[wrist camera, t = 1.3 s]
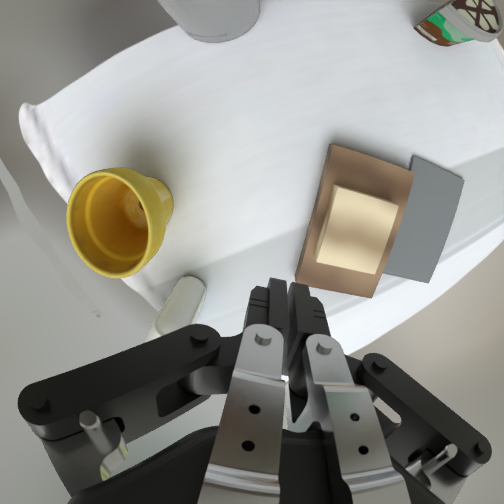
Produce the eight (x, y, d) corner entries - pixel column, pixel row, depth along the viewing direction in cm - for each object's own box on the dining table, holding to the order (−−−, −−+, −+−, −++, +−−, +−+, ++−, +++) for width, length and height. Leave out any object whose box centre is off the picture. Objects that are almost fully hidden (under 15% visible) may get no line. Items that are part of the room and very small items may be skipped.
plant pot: (101, 186, 30) (51, 204, 21) (163, 145, 28) (119, 148, 19) (136, 255, 33) (97, 291, 24) (202, 223, 31) (174, 257, 22)
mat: (412, 155, 26) (414, 155, 25) (462, 179, 26) (464, 180, 25) (376, 270, 32) (378, 272, 31) (427, 281, 32) (428, 283, 31)
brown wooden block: (329, 144, 27) (333, 144, 25) (407, 170, 27) (415, 172, 25) (294, 276, 33) (295, 283, 31) (367, 290, 33) (371, 298, 31)
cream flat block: (333, 184, 26) (337, 187, 24) (391, 201, 26) (398, 205, 25) (313, 254, 29) (316, 262, 28) (369, 266, 29) (374, 274, 28)
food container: (440, 69, 21) (488, 55, 12) (407, 32, 20) (447, 5, 10) (474, 35, 17) (515, 21, 8) (446, 2, 16) (482, -19, 6)
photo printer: (189, 337, 38) (164, 401, 27) (163, 325, 38) (130, 386, 26) (212, 283, 34) (185, 349, 23) (181, 269, 34) (142, 329, 22)
